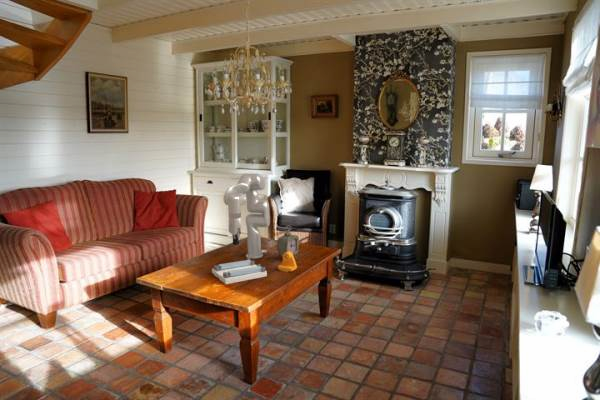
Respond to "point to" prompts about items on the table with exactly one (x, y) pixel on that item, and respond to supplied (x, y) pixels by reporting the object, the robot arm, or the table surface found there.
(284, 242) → the tabletop clock
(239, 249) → the table surface
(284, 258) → the bracket
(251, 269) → the lever
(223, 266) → the lever
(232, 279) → the board
